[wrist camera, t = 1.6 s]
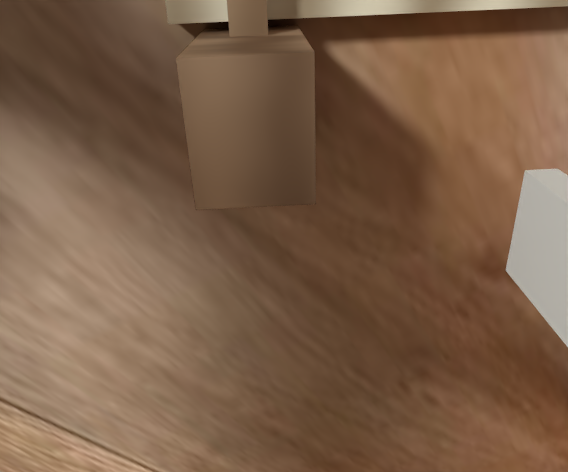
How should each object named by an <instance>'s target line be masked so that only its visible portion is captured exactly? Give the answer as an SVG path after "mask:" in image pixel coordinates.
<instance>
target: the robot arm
mask: <svg viewBox="0 0 568 472" xmlns="http://www.w3.org/2000/svg"><path fill="white" fill-rule="evenodd" d="M506 272H507V273H508V274H509V275H510V276H511V278H512V279H513V280H514V281H515V283H516V284H517V285H518V286H519V288H520V289H521V290H522V291H523V293H524V294H525V295H526V296H527V297H528V299H529V300H530V301H531V302H532V304H533V305H534V306H535V307H536V309H537V310H538V311H539V312H540V314H541V315H542V316H543V317H544V318H545V320H546V321H547V322H548V323H549V325H550V326H551V327H552V328H553V330H554V331H555V332H556V333H557V335H558V336H559V337H560V338H561V340H562V341H563V342H564V343H565V344H566V346H567V347H568V175H566V174H565V173H563V172H562V171H560V170H559V169H542V170H525V173H524V178H523V184H522V189H521V194H520V199H519V204H518V210H517V215H516V220H515V225H514V230H513V235H512V241H511V246H510V251H509V256H508V261H507V266H506Z"/></svg>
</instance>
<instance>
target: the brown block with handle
mask: <svg viewBox="0 0 568 472" xmlns="http://www.w3.org/2000/svg"><path fill="white" fill-rule="evenodd" d="M227 11H228V23H229V28H223V29H204V30H203V31H202V32H201V33H200V34H199V35H198V36H197V37H196V38H195V39H194V40H193V41H192V42H191V43H190V44H189V45H188V46H187V47H186V48H185V49H184V50H183V51H182V52H181V53H180V54H179V56H178V57H177V58H176V65H177V73H178V80H179V88H180V95H181V103H182V110H183V118H184V125H185V133H186V141H187V148H188V156H189V163H190V171H191V178H192V186H193V193H194V201H195V208H196V210H208V209H227V208H247V207H267V206H286V205H306V204H316V149H315V52H314V50H313V49H312V47H311V46H310V44H309V43H308V41H307V39H306V38H305V36H304V35H303V33H302V32H301V30H300V28H299V27H298V25H289V26H268V17H267V0H227Z"/></svg>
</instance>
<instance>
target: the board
mask: <svg viewBox="0 0 568 472" xmlns="http://www.w3.org/2000/svg"><path fill="white" fill-rule="evenodd" d="M165 5H166V12H167V19H168V24H184V23H206V22H228V11H227V0H165ZM562 6H568V0H267V17H268V20H273V19H295V18H317V17H339V16H362V15H384V14H406V13H428V12H450V11H473V10H495V9H517V8H539V7H562Z"/></svg>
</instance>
